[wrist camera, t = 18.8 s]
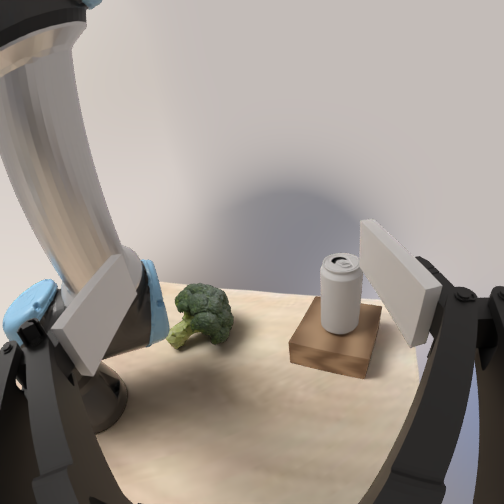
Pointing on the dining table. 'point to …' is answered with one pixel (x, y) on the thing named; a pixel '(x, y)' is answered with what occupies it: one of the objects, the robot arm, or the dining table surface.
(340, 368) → the walnut block
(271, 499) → the dining table surface
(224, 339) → the vegetable
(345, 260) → the beverage can
